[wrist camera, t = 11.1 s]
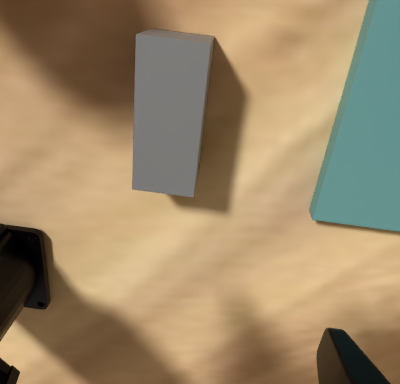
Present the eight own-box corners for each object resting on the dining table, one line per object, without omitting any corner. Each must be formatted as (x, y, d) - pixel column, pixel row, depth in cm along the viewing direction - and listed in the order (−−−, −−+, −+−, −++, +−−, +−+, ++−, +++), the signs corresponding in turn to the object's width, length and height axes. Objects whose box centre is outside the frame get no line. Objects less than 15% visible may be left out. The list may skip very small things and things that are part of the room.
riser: (198, 171, 21) (193, 197, 18) (145, 164, 21) (132, 189, 18) (214, 36, 17) (210, 43, 15) (151, 28, 17) (135, 34, 15)
